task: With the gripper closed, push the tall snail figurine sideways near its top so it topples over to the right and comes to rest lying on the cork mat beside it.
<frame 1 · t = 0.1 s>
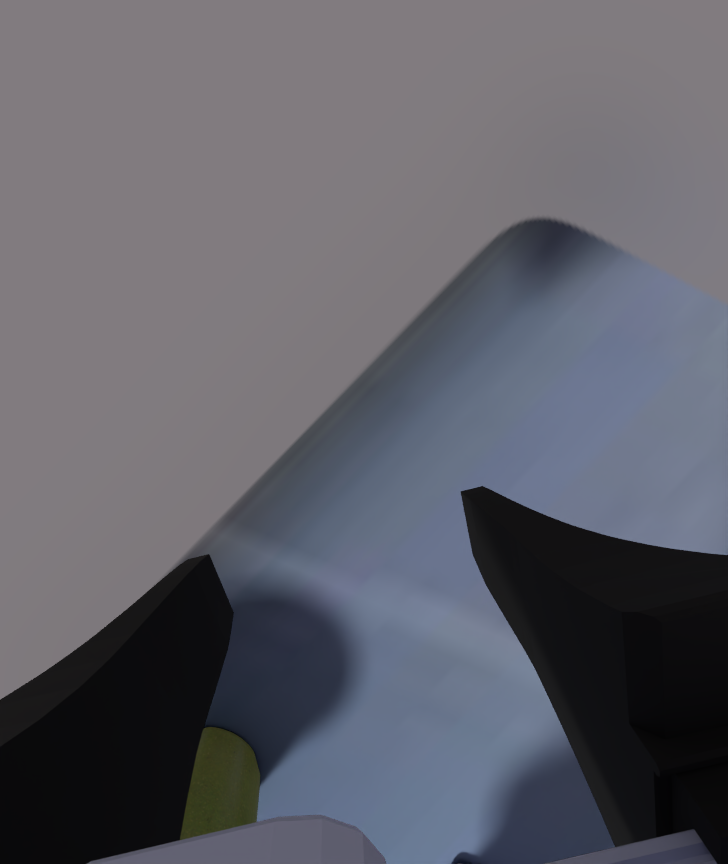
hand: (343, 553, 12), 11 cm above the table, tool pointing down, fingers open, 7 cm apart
plant pot: (210, 765, 25), on the table
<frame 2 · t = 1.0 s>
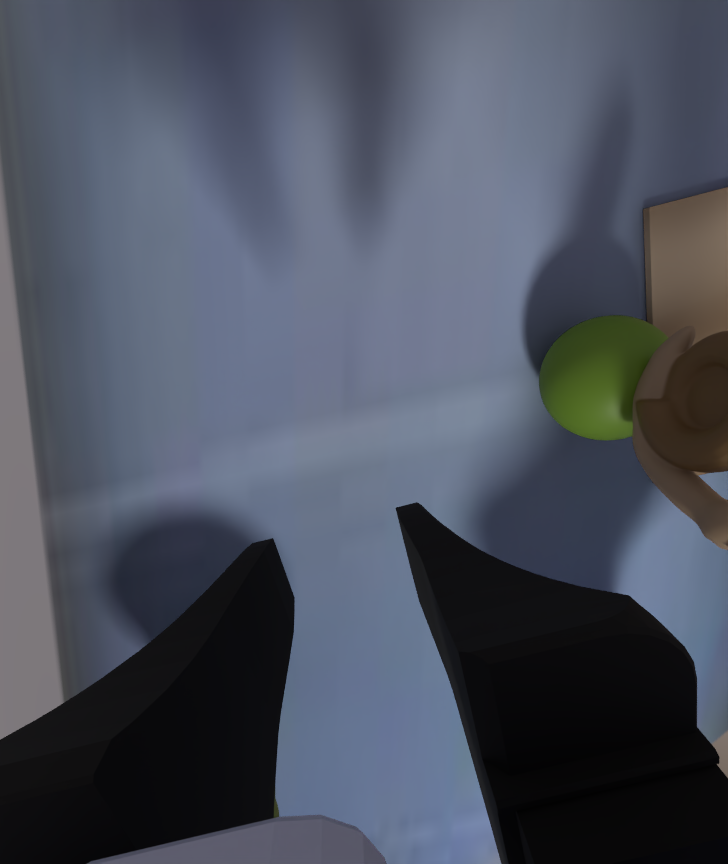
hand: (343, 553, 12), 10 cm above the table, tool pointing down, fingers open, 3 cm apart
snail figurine: (568, 378, 22), on the table
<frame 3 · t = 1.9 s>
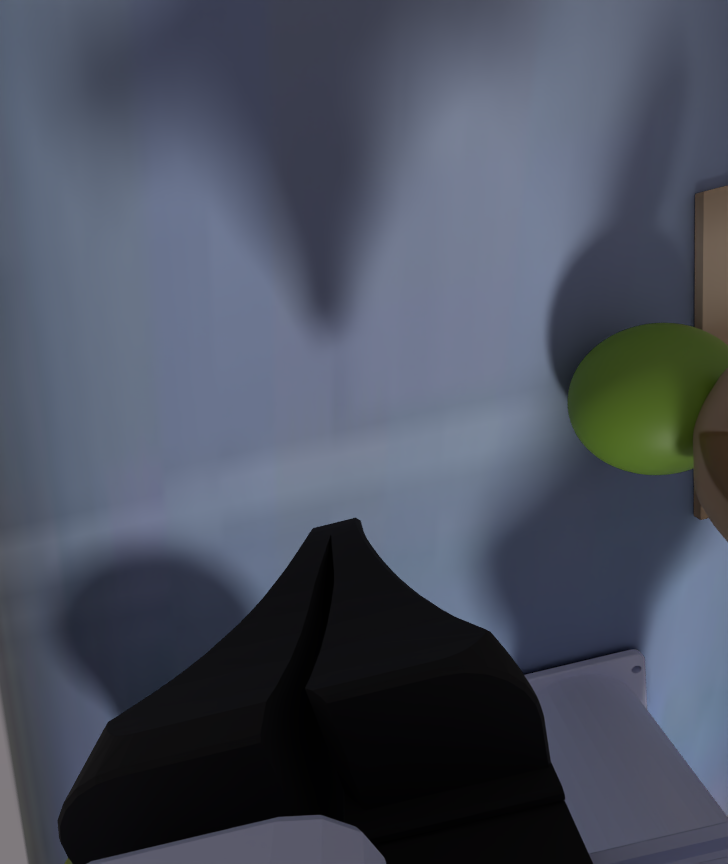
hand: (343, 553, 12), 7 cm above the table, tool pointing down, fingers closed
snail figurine: (599, 395, 18), on the table
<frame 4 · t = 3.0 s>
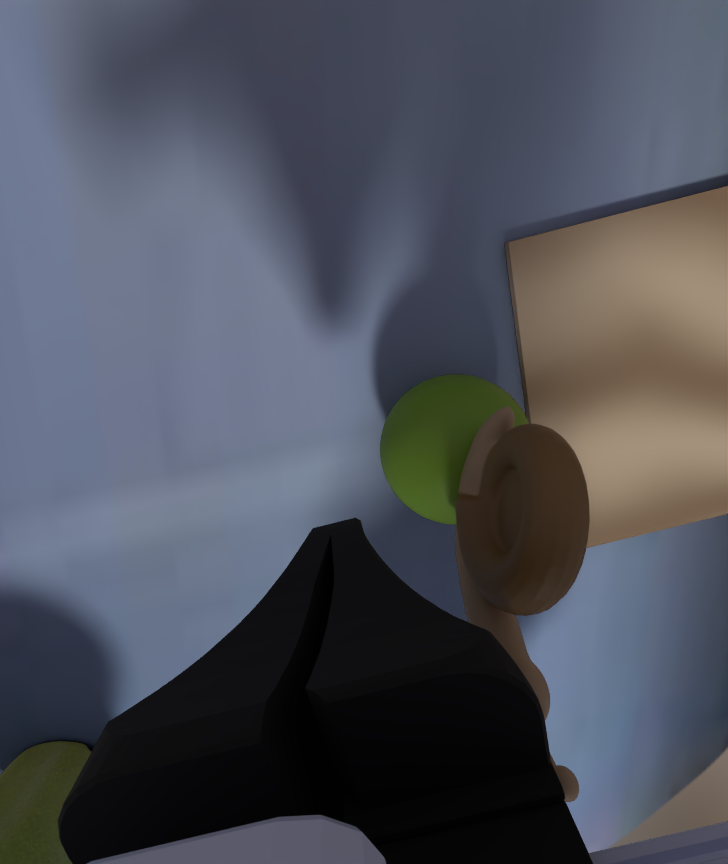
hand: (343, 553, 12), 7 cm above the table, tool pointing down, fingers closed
cork mat: (663, 381, 18), on the table
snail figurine: (434, 437, 18), on the table
plant pot: (71, 774, 23), on the table
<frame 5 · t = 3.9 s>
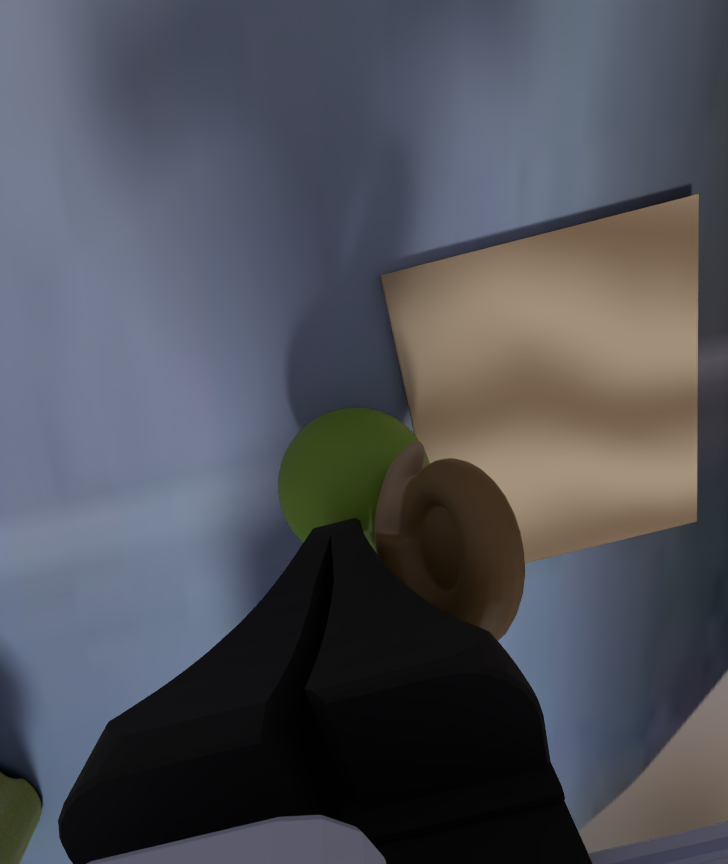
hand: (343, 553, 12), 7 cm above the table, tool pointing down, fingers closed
cork mat: (552, 409, 18), on the table
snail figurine: (327, 470, 18), point 1 cm above the table, touching gripper
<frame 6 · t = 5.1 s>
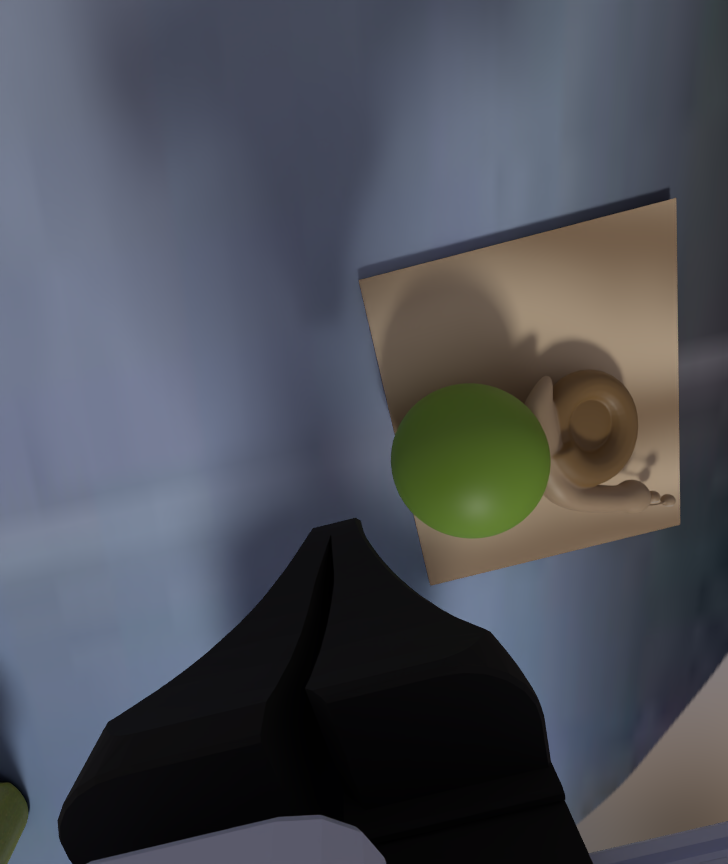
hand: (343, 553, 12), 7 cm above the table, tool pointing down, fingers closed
cork mat: (533, 413, 18), on the table
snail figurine: (393, 490, 14), point 4 cm above the table, touching cork mat
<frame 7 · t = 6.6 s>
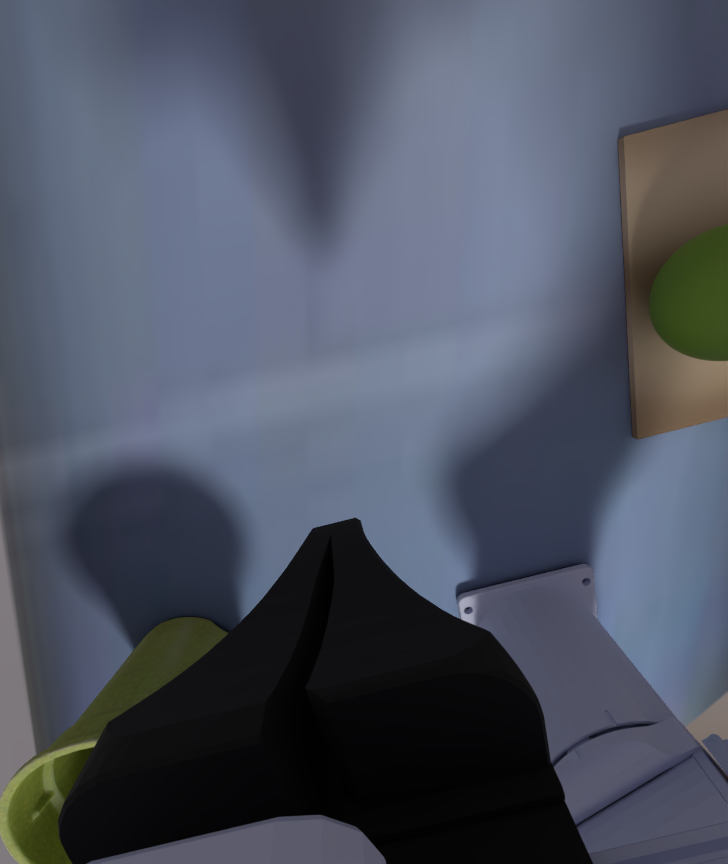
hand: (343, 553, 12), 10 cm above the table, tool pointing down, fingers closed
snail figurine: (677, 314, 17), point 4 cm above the table, touching cork mat
plant pot: (194, 652, 25), on the table
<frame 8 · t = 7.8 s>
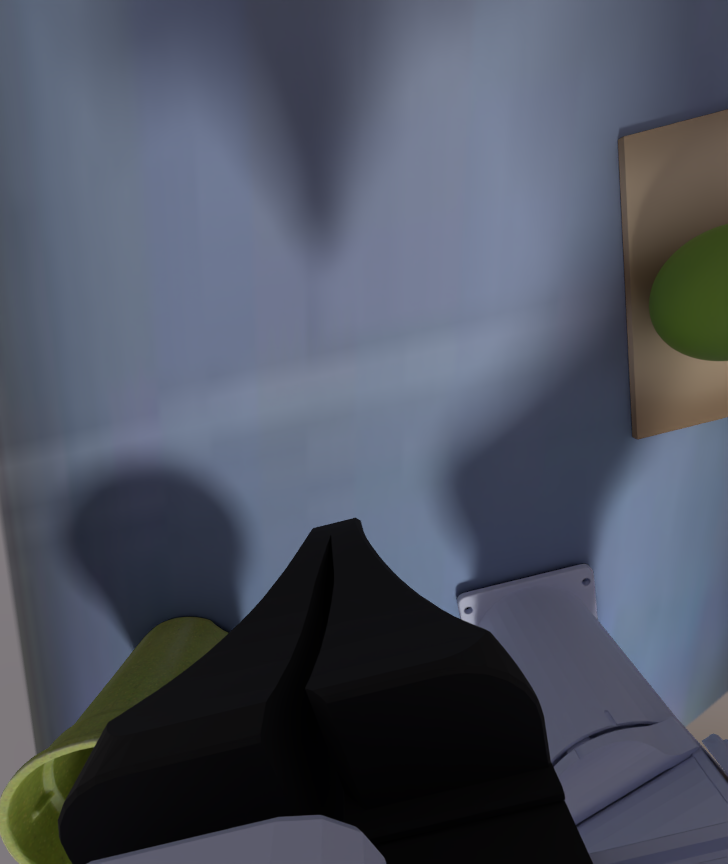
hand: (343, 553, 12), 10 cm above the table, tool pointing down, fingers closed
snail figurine: (677, 314, 17), point 4 cm above the table, touching cork mat
plant pot: (194, 652, 25), on the table
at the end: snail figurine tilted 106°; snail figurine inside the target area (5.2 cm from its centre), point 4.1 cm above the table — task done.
